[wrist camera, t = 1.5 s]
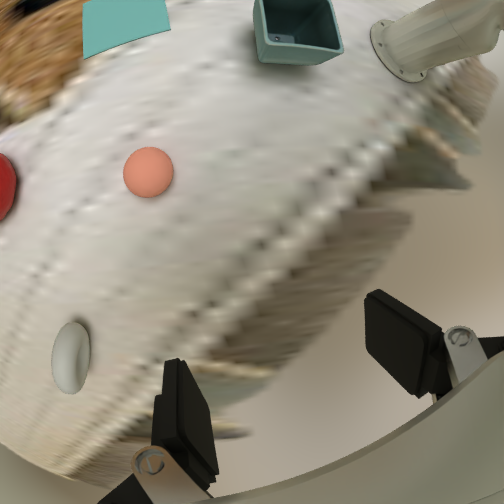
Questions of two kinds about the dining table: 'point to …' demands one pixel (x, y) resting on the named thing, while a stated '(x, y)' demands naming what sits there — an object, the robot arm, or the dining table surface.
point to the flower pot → (296, 31)
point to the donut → (70, 358)
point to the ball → (148, 172)
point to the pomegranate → (6, 185)
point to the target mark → (120, 22)
